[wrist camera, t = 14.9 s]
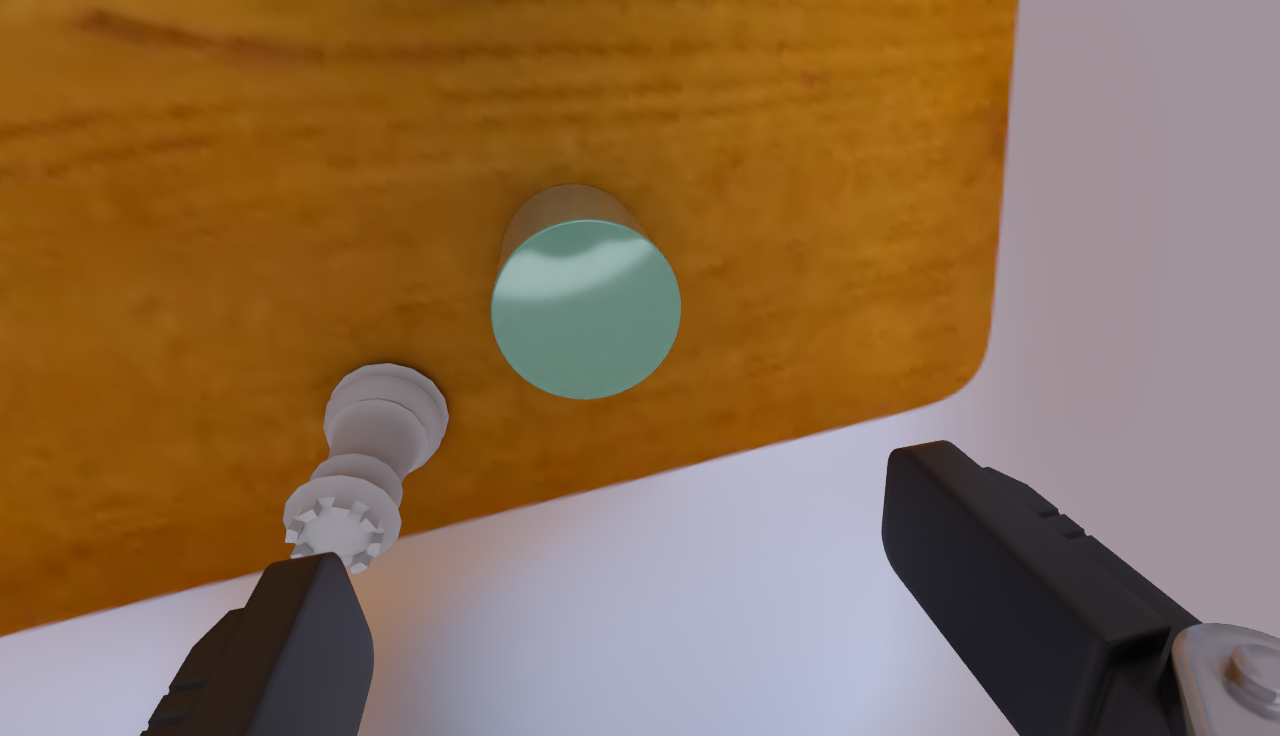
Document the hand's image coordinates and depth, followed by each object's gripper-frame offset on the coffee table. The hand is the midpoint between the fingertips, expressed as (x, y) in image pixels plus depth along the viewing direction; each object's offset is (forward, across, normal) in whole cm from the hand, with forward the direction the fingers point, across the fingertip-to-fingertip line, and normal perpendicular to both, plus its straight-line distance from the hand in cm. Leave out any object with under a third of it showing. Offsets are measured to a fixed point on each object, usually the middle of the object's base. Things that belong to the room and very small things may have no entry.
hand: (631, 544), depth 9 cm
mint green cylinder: (+16, 0, 0) cm, 16 cm away
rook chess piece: (+16, +8, +5) cm, 19 cm away
